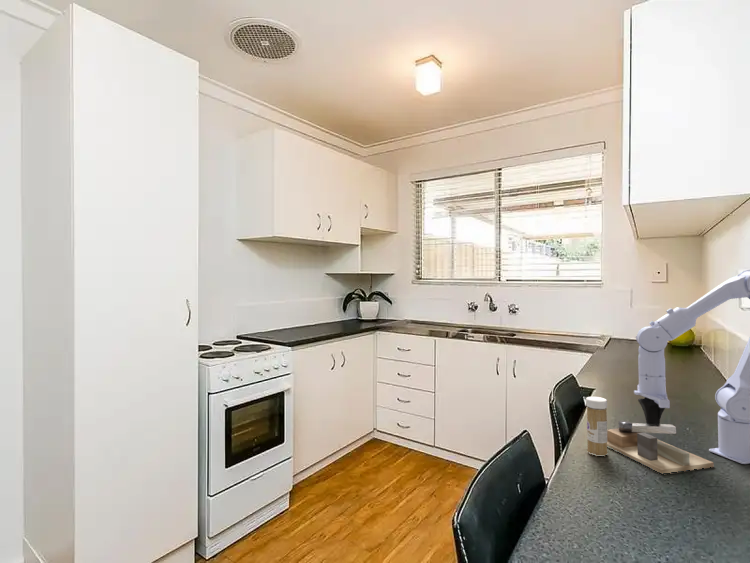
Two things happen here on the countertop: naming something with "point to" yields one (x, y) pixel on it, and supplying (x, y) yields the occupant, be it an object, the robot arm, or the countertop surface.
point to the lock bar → (646, 427)
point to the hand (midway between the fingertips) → (653, 428)
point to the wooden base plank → (654, 452)
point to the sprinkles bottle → (597, 425)
